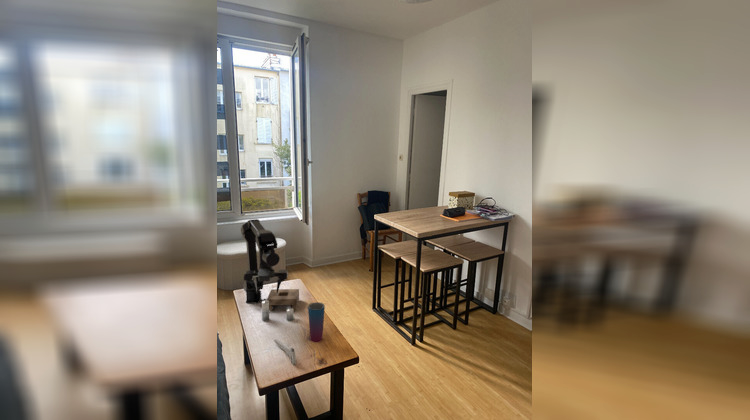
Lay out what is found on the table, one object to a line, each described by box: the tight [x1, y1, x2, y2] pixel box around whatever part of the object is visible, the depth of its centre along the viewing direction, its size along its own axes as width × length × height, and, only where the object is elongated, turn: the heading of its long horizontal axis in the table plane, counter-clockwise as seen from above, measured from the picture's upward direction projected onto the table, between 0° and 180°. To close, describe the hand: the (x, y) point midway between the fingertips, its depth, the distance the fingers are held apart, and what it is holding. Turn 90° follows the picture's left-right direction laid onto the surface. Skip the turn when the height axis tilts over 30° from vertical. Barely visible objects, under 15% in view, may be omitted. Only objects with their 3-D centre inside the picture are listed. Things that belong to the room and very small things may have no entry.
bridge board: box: [266, 288, 300, 312], centre depth 186 cm, size 14×12×6 cm
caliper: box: [273, 338, 297, 366], centre depth 145 cm, size 20×1×6 cm, turn 35°
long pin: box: [261, 299, 270, 322], centre depth 170 cm, size 3×3×9 cm
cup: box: [307, 301, 326, 343], centre depth 155 cm, size 7×7×15 cm
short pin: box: [285, 307, 295, 322], centre depth 172 cm, size 3×3×5 cm
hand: (266, 292), depth 169 cm, fingers open, 9 cm apart
